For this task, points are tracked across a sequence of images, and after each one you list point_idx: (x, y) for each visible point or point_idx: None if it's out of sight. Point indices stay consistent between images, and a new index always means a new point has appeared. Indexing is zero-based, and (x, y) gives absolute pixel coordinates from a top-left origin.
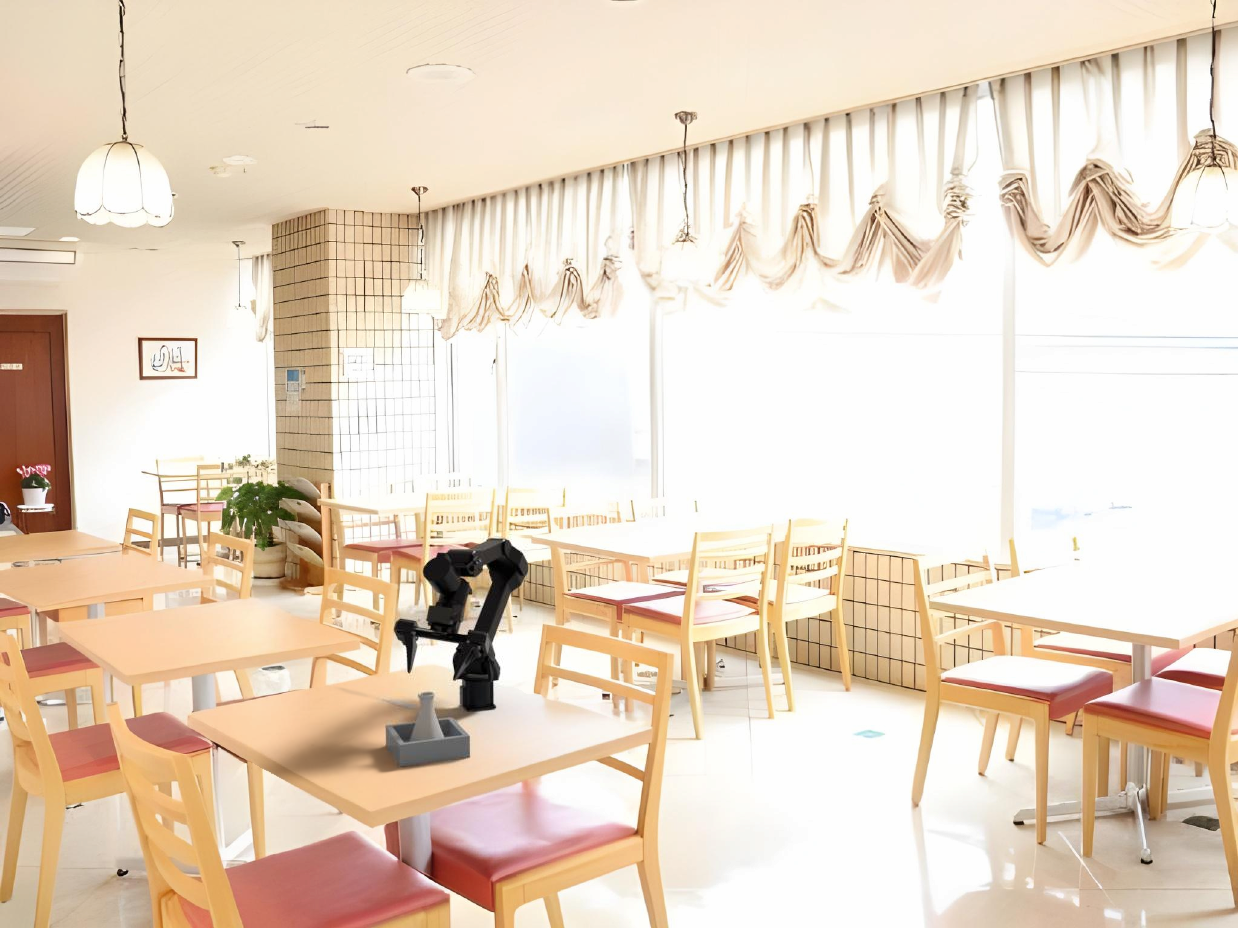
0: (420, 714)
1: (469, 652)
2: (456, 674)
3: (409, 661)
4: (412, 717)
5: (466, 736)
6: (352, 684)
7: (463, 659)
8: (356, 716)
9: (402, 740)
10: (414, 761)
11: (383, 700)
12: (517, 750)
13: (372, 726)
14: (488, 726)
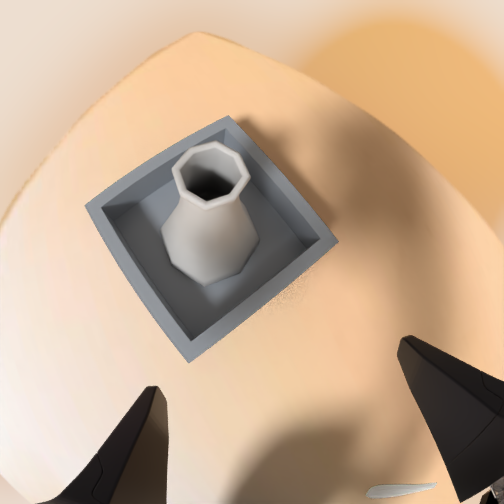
0: (222, 182)
1: (48, 501)
2: (136, 401)
3: (439, 359)
4: (349, 448)
5: (91, 200)
6: None
7: (90, 471)
8: None
9: (236, 140)
10: None
11: (422, 484)
12: (31, 285)
13: (399, 365)
14: None
